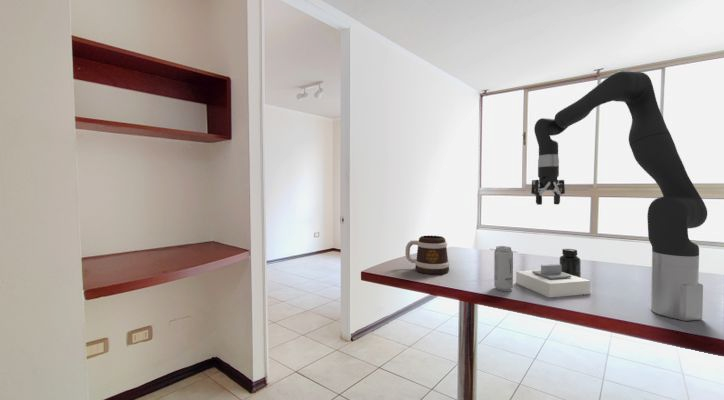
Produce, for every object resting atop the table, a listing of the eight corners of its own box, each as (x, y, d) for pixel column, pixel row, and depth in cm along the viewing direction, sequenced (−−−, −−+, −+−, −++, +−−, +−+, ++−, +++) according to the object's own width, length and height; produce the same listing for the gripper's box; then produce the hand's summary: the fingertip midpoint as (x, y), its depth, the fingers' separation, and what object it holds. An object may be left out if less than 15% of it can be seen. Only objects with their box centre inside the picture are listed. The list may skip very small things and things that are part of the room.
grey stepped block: (571, 277, 106) (571, 267, 106) (550, 279, 105) (550, 268, 105) (551, 271, 115) (551, 261, 114) (532, 272, 113) (532, 263, 113)
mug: (452, 268, 139) (452, 235, 138) (445, 277, 125) (445, 240, 125) (410, 264, 148) (410, 233, 148) (399, 271, 135) (399, 237, 134)
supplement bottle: (574, 277, 123) (574, 248, 122) (584, 283, 116) (585, 251, 115) (555, 277, 123) (556, 248, 123) (565, 282, 116) (565, 251, 116)
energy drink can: (510, 292, 105) (510, 249, 105) (491, 289, 109) (492, 247, 109) (514, 288, 110) (515, 247, 109) (497, 285, 114) (497, 245, 113)
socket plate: (590, 293, 103) (590, 280, 103) (549, 297, 100) (549, 283, 100) (552, 280, 119) (552, 269, 119) (516, 283, 116) (516, 271, 116)
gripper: (540, 165, 124) (540, 205, 124) (570, 165, 127) (569, 204, 127) (527, 166, 131) (526, 204, 132) (555, 167, 134) (555, 203, 134)
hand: (548, 204), depth 129 cm, fingers open, 8 cm apart
